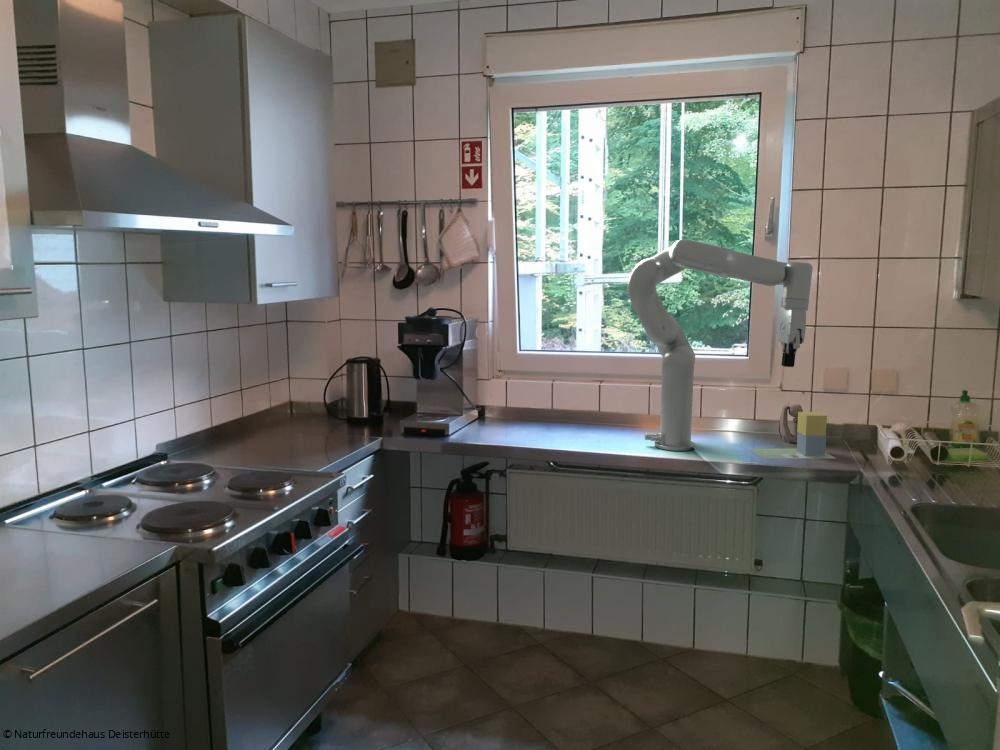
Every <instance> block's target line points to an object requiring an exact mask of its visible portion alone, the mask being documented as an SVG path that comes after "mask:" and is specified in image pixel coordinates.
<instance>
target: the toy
mask: <svg viewBox="0 0 1000 750" xmlns="http://www.w3.org/2000/svg"><path fill="white" fill-rule="evenodd" d="M787 404H790V403H789V401H788V402H787ZM787 404H786V405H784V406H782V409H781V413H780V417H779V426H778V432H779V435H780V438H781V439H782V441H783V442H784V441H785V442H786V443H787V444H793V443H797V439H796V438H795V437H794V435H793V434H792V433H791V430H790V427H789V423H788V415H790V416H791V417H792V418H793V419H792V422H793V423H794V430H795V435H796V436H797V434H798V432H797V424H798V412H804V410H803V408H802V406H801V405H800V404H799V403H796V404H791V405H787Z"/></svg>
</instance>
